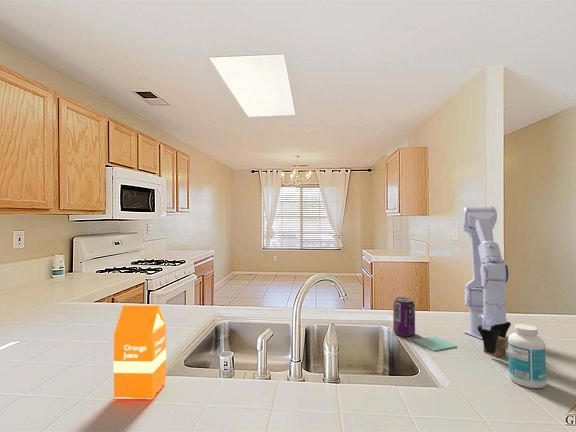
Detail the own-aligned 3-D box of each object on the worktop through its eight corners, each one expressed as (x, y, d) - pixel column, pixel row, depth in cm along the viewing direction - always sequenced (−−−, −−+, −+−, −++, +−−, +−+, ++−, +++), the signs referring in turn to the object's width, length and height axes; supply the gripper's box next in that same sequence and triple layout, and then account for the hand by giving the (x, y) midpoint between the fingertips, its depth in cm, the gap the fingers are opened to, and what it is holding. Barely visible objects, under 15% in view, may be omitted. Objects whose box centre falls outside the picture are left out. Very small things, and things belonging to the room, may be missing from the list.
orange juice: (130, 382, 81) (130, 301, 82) (166, 383, 81) (166, 301, 81) (113, 400, 74) (113, 310, 74) (152, 400, 73) (152, 310, 73)
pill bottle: (539, 377, 83) (538, 323, 83) (551, 392, 76) (551, 333, 76) (504, 373, 86) (504, 320, 86) (513, 386, 79) (513, 330, 79)
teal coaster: (435, 337, 111) (435, 336, 111) (457, 347, 103) (457, 346, 103) (413, 340, 108) (413, 339, 108) (433, 351, 100) (433, 349, 100)
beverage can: (416, 338, 111) (416, 302, 111) (394, 336, 112) (394, 301, 112) (413, 331, 118) (413, 297, 118) (392, 329, 119) (392, 296, 119)
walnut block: (493, 350, 100) (493, 334, 100) (506, 355, 97) (505, 338, 97) (483, 352, 99) (483, 335, 99) (495, 357, 95) (495, 340, 95)
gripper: (487, 296, 106) (488, 339, 106) (470, 304, 96) (470, 351, 96) (513, 300, 100) (514, 345, 100) (498, 309, 91) (498, 359, 91)
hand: (494, 348), depth 98 cm, fingers open, 7 cm apart
